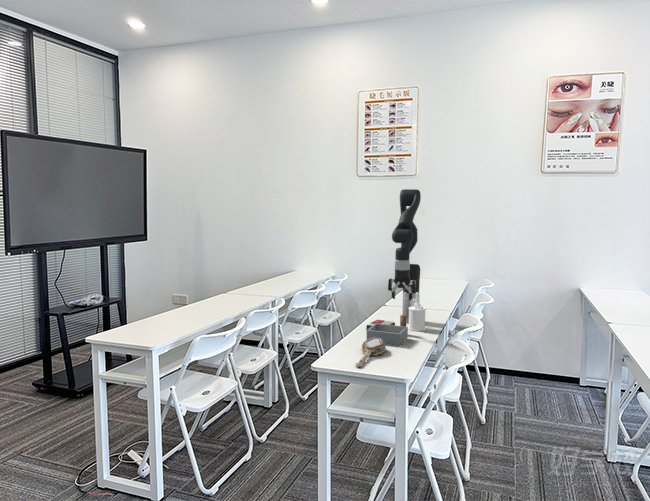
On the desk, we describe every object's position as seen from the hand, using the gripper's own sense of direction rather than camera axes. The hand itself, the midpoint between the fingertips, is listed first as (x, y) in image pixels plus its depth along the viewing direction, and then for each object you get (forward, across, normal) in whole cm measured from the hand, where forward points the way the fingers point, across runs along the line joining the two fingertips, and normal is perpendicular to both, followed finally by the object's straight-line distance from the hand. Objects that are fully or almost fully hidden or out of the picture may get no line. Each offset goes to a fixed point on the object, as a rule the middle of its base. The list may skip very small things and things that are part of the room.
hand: (401, 299), depth 248 cm
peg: (+19, 0, -1) cm, 19 cm away
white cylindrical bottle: (+19, -4, -15) cm, 25 cm away
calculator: (+20, +13, -6) cm, 24 cm away
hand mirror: (+18, +4, +40) cm, 44 cm away
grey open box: (+19, +4, +12) cm, 22 cm away
